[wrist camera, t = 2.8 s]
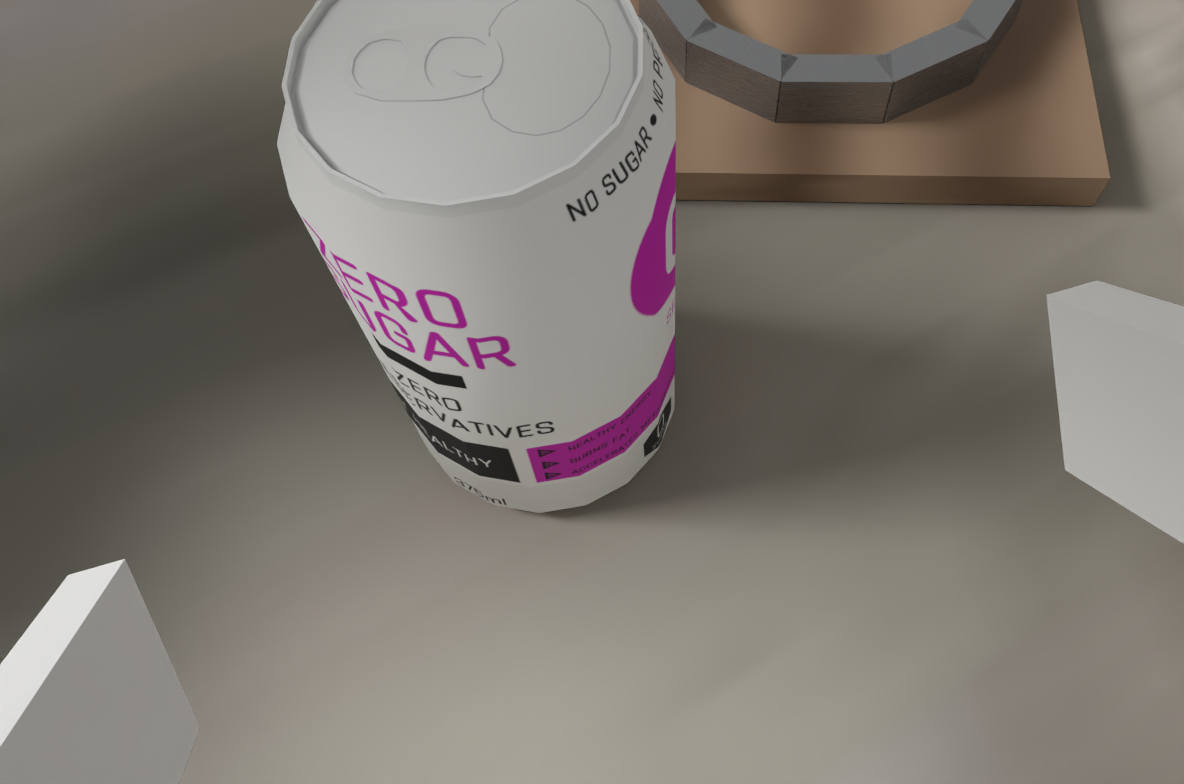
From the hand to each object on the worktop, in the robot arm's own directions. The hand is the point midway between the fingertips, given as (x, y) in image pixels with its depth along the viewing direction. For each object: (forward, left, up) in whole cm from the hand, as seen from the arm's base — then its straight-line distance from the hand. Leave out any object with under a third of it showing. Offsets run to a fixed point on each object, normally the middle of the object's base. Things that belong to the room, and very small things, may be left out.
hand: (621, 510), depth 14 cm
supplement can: (-4, +9, -16) cm, 19 cm away
